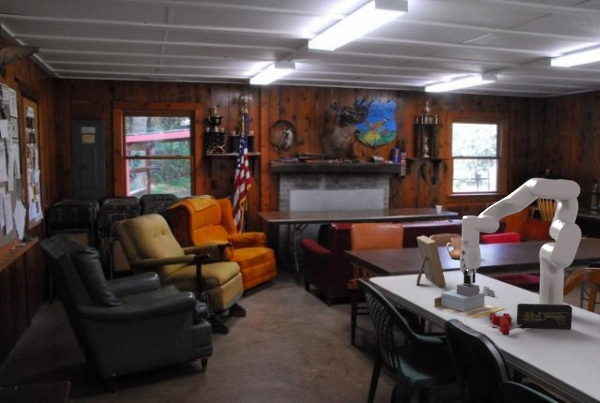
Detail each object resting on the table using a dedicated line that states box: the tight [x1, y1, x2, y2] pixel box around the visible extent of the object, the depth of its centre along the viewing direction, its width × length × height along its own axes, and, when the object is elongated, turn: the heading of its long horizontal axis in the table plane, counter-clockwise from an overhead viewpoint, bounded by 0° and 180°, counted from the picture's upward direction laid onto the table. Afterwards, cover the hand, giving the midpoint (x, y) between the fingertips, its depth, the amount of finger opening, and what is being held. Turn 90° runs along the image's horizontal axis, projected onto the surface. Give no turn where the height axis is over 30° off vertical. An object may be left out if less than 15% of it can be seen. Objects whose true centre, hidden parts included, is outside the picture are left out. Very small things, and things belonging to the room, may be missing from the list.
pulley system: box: [479, 286, 496, 299], centre depth 264 cm, size 27×5×15 cm
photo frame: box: [416, 235, 447, 288], centre depth 292 cm, size 15×22×25 cm
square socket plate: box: [440, 282, 486, 312], centre depth 240 cm, size 12×16×10 cm
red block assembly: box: [489, 312, 513, 335], centre depth 213 cm, size 16×7×5 cm, turn 170°
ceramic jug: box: [445, 236, 462, 260], centre depth 363 cm, size 18×14×14 cm
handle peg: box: [466, 270, 474, 287], centre depth 237 cm, size 3×3×10 cm
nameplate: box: [516, 302, 573, 331], centre depth 214 cm, size 21×2×10 cm, turn 84°
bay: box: [433, 296, 505, 321], centre depth 238 cm, size 22×22×6 cm
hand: (469, 282), depth 237 cm, fingers closed on handle peg, 2 cm apart
